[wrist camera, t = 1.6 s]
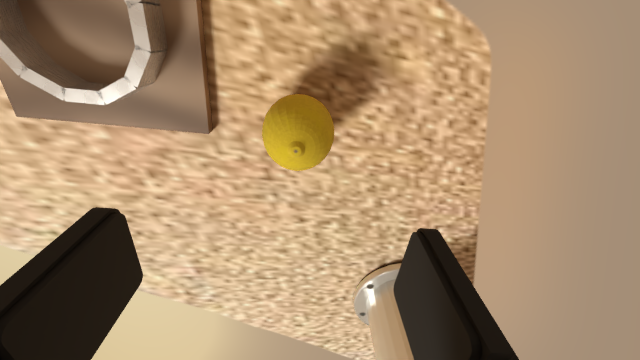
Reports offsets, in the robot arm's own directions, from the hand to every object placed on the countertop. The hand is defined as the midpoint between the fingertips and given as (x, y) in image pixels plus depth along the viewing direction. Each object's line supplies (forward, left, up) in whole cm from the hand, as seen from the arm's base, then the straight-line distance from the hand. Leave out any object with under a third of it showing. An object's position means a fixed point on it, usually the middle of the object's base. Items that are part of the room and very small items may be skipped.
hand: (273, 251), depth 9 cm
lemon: (0, 0, -18) cm, 18 cm away
